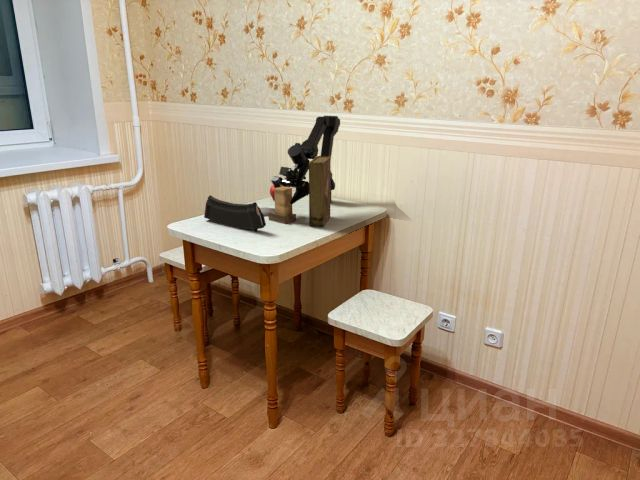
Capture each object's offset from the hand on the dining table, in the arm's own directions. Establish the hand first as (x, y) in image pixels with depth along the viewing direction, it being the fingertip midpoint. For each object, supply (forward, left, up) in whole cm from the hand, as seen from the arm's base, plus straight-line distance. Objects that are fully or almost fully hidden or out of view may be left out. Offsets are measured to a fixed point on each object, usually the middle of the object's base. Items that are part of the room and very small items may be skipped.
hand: (282, 202), depth 191 cm
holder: (0, -1, -7) cm, 7 cm away
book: (-15, +1, -8) cm, 17 cm away
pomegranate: (+6, -36, -8) cm, 38 cm away
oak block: (0, -1, -7) cm, 8 cm away
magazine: (+18, +9, -8) cm, 21 cm away
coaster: (+10, -11, -7) cm, 16 cm away
